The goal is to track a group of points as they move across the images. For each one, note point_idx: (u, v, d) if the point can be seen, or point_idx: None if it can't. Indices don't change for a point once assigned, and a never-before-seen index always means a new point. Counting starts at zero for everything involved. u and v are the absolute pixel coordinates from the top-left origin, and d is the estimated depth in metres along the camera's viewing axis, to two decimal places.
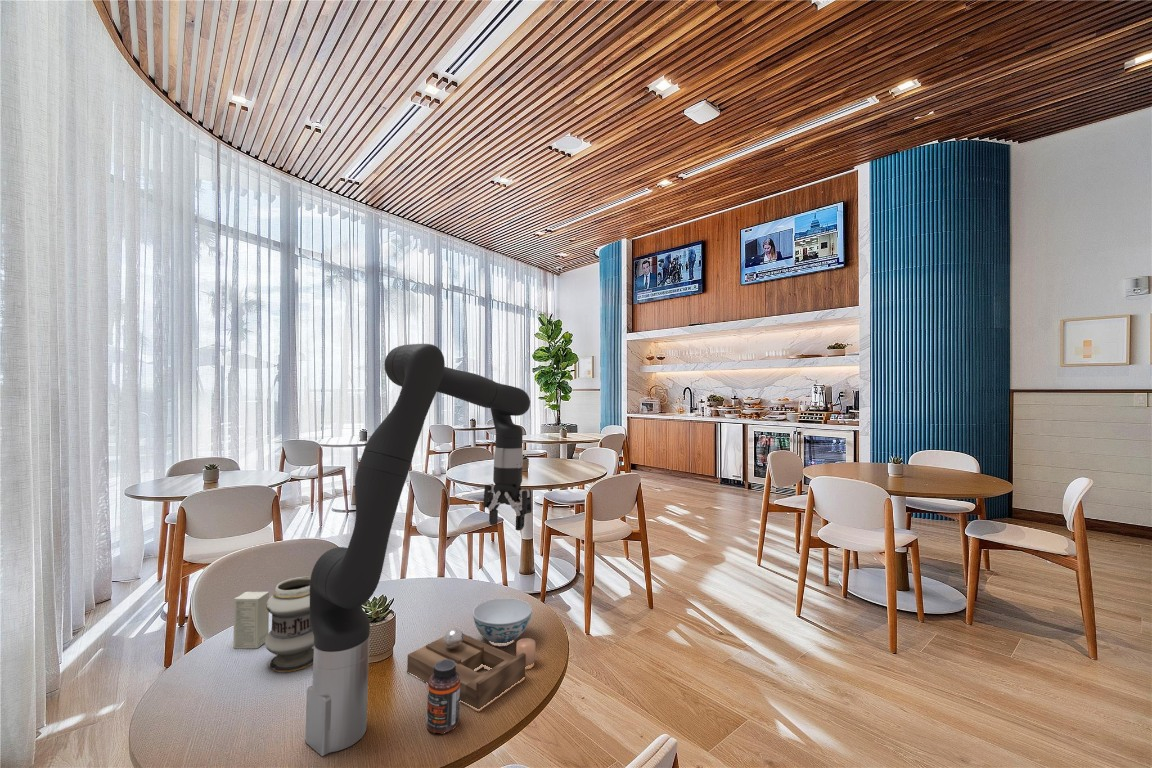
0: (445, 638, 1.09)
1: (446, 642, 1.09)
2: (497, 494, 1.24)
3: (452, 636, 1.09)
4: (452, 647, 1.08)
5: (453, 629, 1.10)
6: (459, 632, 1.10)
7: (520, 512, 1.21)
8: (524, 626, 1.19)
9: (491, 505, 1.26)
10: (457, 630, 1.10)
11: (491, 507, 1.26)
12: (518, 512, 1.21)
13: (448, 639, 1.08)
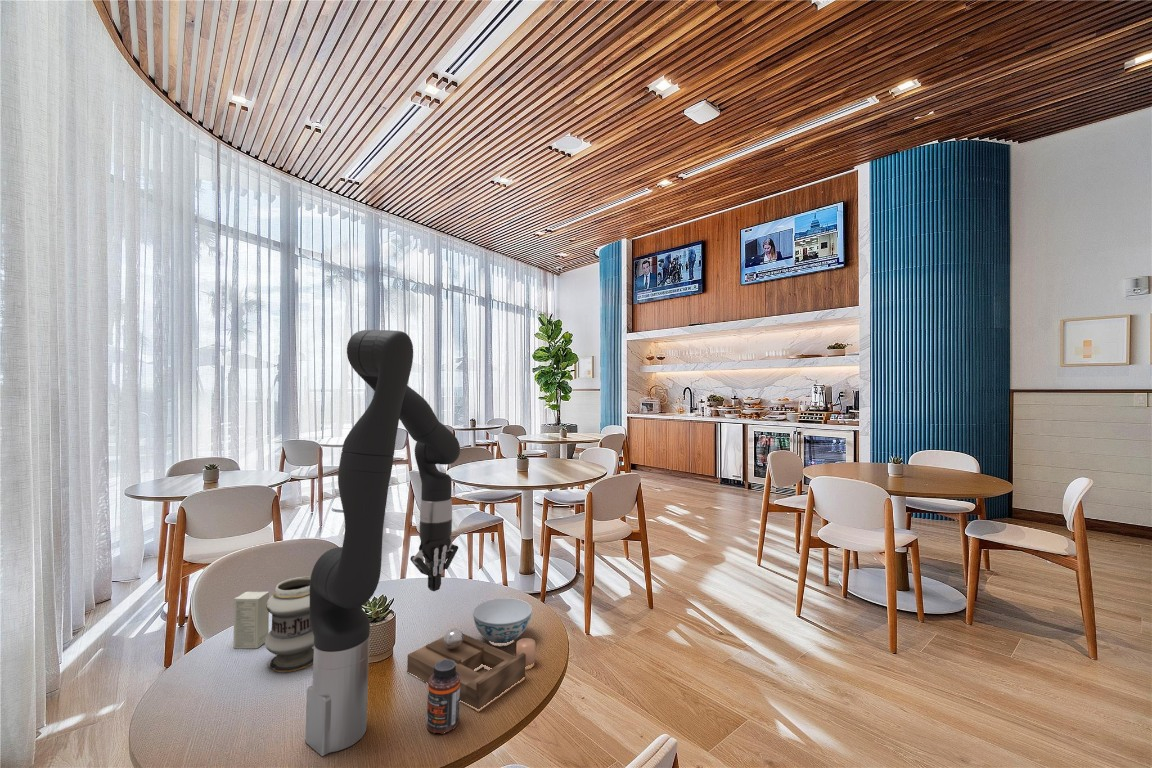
0: (445, 638, 1.09)
1: (446, 642, 1.09)
2: (435, 553, 1.13)
3: (452, 636, 1.09)
4: (452, 647, 1.08)
5: (453, 629, 1.10)
6: (459, 632, 1.10)
7: None
8: (524, 626, 1.19)
9: (434, 569, 1.14)
10: (457, 630, 1.10)
11: (437, 571, 1.14)
12: (441, 570, 1.15)
13: (448, 639, 1.08)
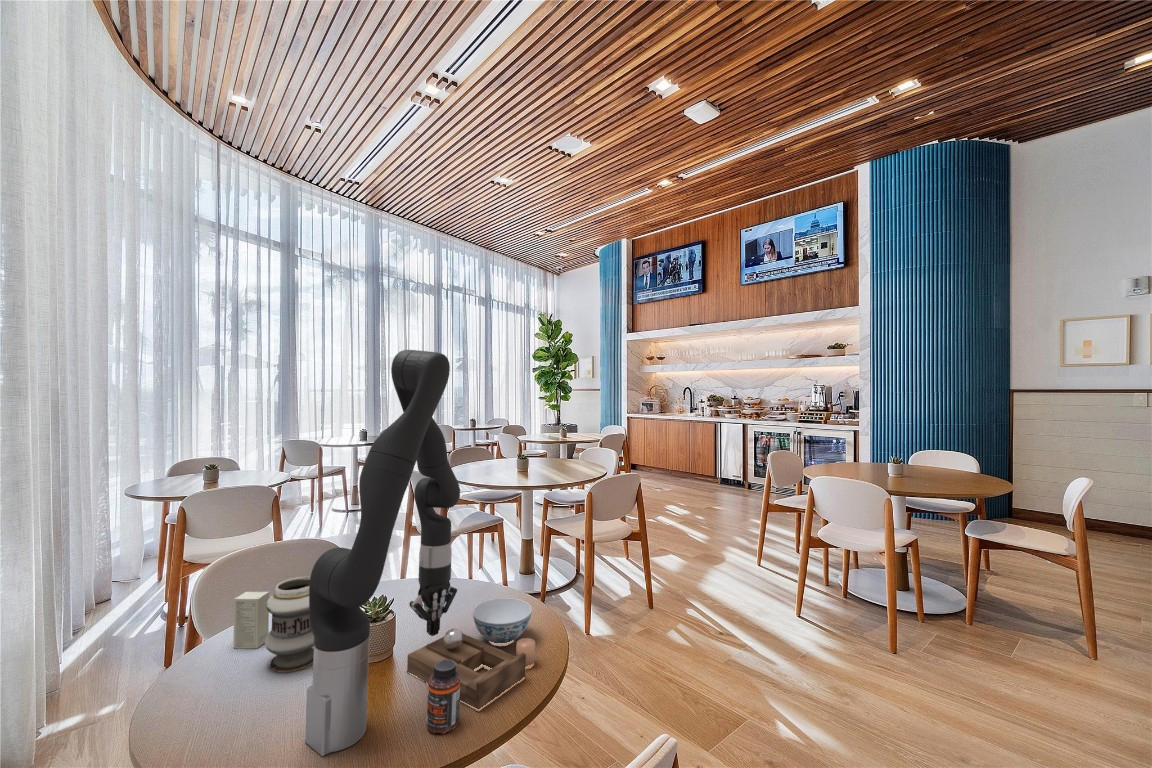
0: (445, 638, 1.09)
1: (446, 642, 1.09)
2: (435, 598, 1.13)
3: (452, 636, 1.09)
4: (452, 647, 1.08)
5: (453, 629, 1.10)
6: (459, 632, 1.10)
7: None
8: (524, 626, 1.19)
9: (433, 614, 1.13)
10: (457, 630, 1.10)
11: (435, 616, 1.14)
12: (440, 614, 1.15)
13: (448, 639, 1.08)
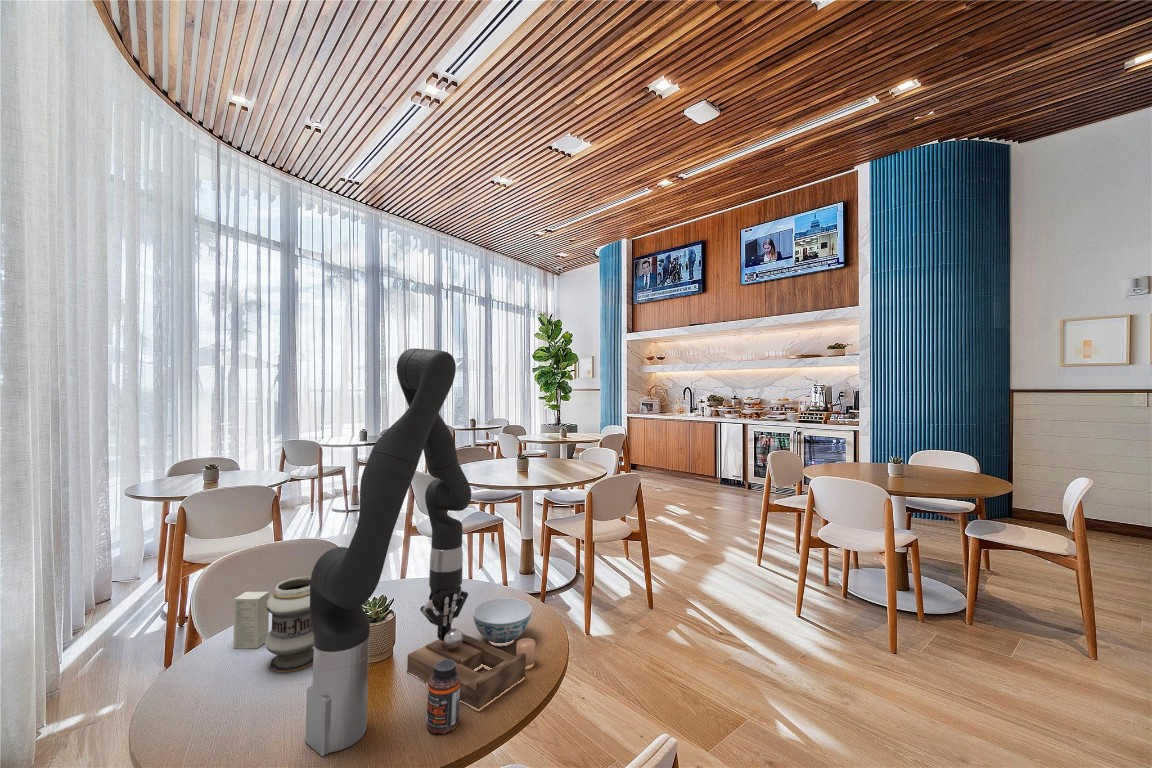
0: (445, 638, 1.09)
1: (446, 642, 1.09)
2: (446, 602, 1.10)
3: (452, 636, 1.09)
4: (452, 647, 1.08)
5: (453, 629, 1.10)
6: (459, 632, 1.10)
7: None
8: (524, 626, 1.19)
9: (444, 619, 1.11)
10: (457, 630, 1.10)
11: (447, 621, 1.11)
12: (451, 619, 1.12)
13: (448, 639, 1.08)
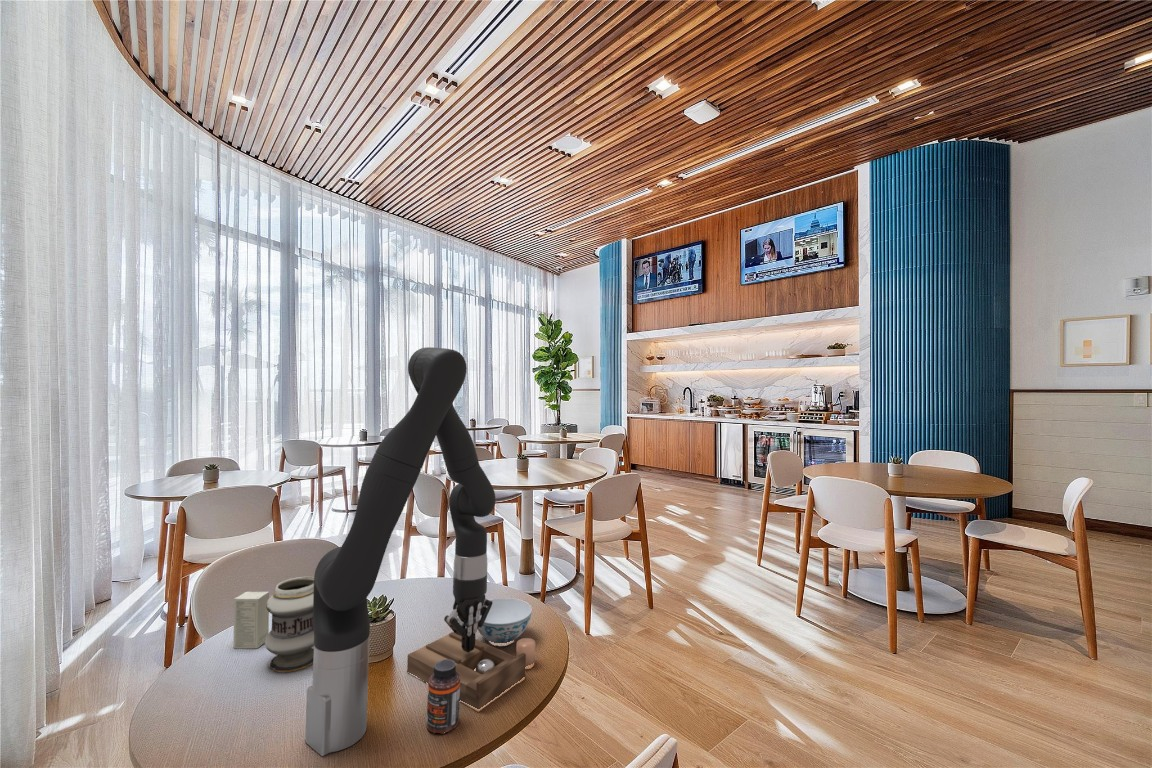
0: None
1: None
2: (470, 611, 1.06)
3: (478, 664, 1.04)
4: None
5: None
6: (484, 659, 1.06)
7: None
8: (524, 626, 1.19)
9: (469, 629, 1.06)
10: (482, 660, 1.06)
11: (471, 631, 1.07)
12: (475, 629, 1.08)
13: (477, 670, 1.03)
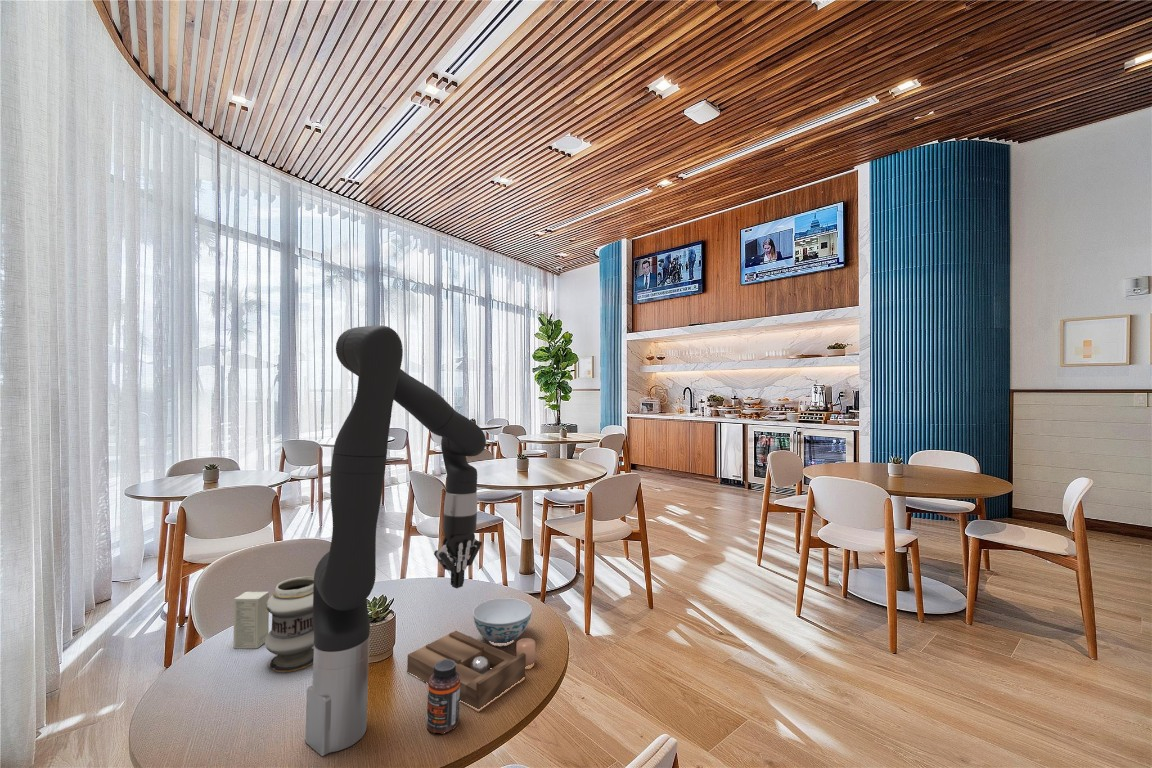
0: None
1: None
2: (460, 548, 1.08)
3: (470, 666, 1.06)
4: (476, 664, 1.04)
5: None
6: None
7: None
8: (524, 626, 1.19)
9: (458, 565, 1.09)
10: None
11: (460, 567, 1.09)
12: (464, 566, 1.10)
13: None
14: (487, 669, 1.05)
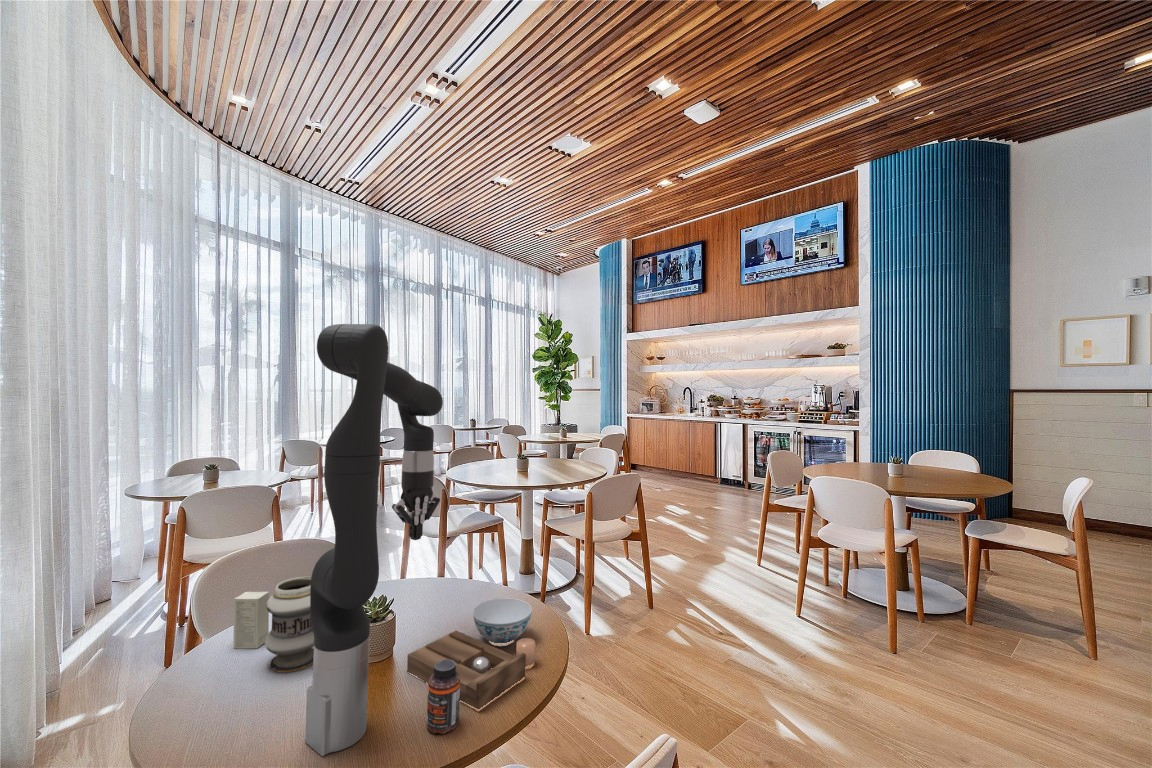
0: None
1: None
2: (417, 502, 1.15)
3: (471, 665, 1.06)
4: (477, 665, 1.04)
5: None
6: None
7: None
8: (524, 626, 1.19)
9: (416, 518, 1.16)
10: None
11: (418, 520, 1.16)
12: (422, 519, 1.17)
13: None
14: None
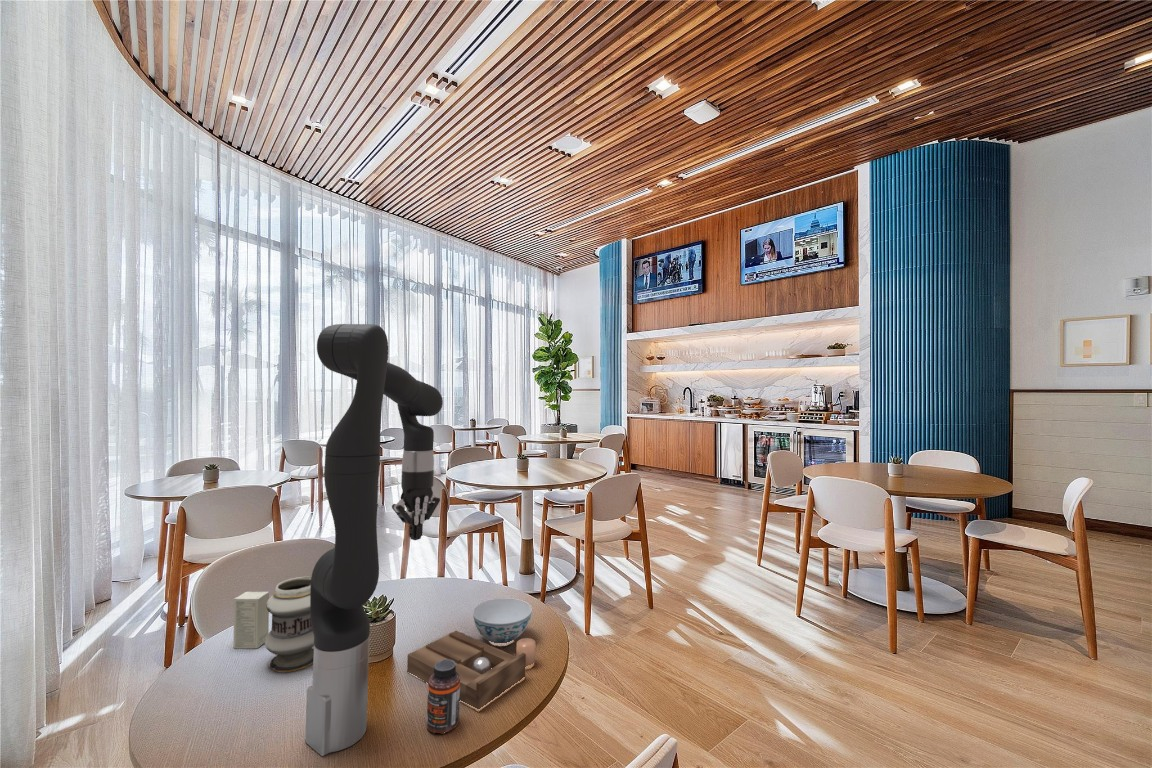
0: None
1: None
2: (417, 502, 1.15)
3: None
4: (479, 666, 1.04)
5: None
6: None
7: None
8: (524, 626, 1.19)
9: (415, 518, 1.16)
10: None
11: (418, 520, 1.16)
12: (422, 519, 1.17)
13: None
14: None
